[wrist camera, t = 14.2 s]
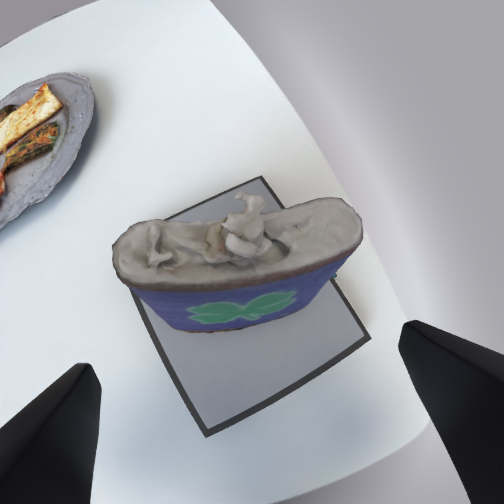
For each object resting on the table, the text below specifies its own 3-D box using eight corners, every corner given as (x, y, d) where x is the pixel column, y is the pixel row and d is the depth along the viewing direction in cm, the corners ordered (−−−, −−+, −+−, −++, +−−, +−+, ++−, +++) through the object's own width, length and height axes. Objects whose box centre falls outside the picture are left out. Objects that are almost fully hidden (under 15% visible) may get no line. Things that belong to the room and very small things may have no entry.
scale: (366, 338, 20) (380, 333, 18) (208, 432, 17) (204, 439, 15) (265, 186, 24) (267, 168, 22) (120, 255, 22) (109, 242, 19)
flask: (307, 269, 19) (370, 161, 9) (318, 314, 18) (404, 240, 8) (160, 294, 18) (85, 201, 8) (166, 341, 17) (80, 293, 7)
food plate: (-60, 292, 19) (-80, 281, 15) (-48, 154, 26) (-59, 140, 23) (122, 173, 24) (109, 146, 21) (86, 66, 32) (79, 47, 29)
